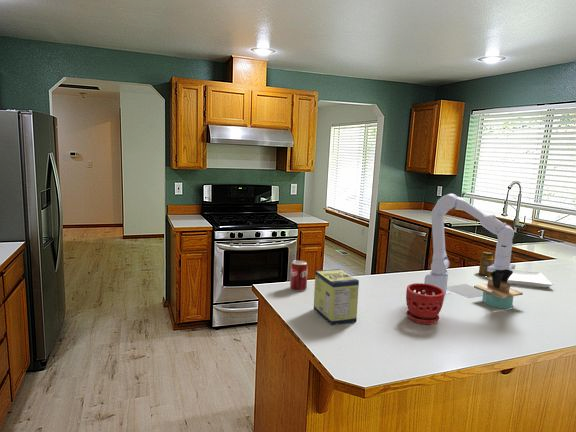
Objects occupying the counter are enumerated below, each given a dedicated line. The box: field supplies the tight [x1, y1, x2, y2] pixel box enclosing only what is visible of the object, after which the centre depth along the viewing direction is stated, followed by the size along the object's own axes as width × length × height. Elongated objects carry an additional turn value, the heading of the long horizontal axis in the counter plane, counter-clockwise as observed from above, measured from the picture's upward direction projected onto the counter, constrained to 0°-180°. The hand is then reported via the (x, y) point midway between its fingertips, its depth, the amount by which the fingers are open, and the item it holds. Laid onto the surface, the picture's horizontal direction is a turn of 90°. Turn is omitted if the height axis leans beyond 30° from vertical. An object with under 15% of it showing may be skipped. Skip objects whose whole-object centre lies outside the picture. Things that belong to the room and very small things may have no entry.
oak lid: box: [473, 277, 524, 298], centre depth 170 cm, size 13×13×4 cm
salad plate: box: [507, 269, 553, 288], centre depth 205 cm, size 21×21×3 cm
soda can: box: [289, 260, 309, 292], centre depth 180 cm, size 7×7×12 cm
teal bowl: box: [481, 291, 515, 310], centre depth 171 cm, size 11×11×5 cm
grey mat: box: [446, 283, 483, 299], centre depth 186 cm, size 15×15×1 cm
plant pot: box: [405, 282, 445, 325], centre depth 151 cm, size 13×13×12 cm
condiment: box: [473, 251, 494, 279], centre depth 213 cm, size 7×8×12 cm
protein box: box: [313, 268, 360, 326], centre depth 151 cm, size 10×16×16 cm
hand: (499, 287), depth 170 cm, fingers closed on oak lid, 3 cm apart
